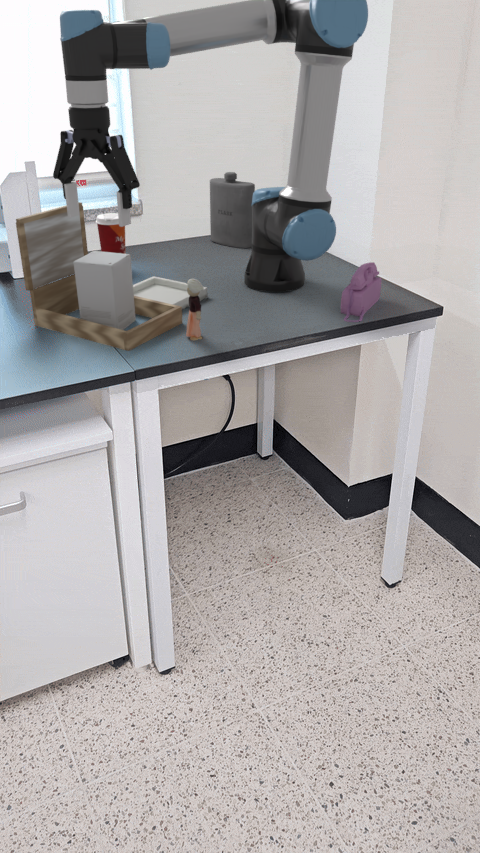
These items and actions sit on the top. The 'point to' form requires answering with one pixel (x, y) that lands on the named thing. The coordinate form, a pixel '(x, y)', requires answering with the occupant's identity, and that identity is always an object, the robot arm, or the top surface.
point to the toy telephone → (361, 292)
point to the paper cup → (111, 233)
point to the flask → (231, 211)
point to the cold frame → (53, 259)
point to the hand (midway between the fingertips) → (98, 220)
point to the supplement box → (105, 288)
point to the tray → (166, 291)
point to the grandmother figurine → (194, 309)
